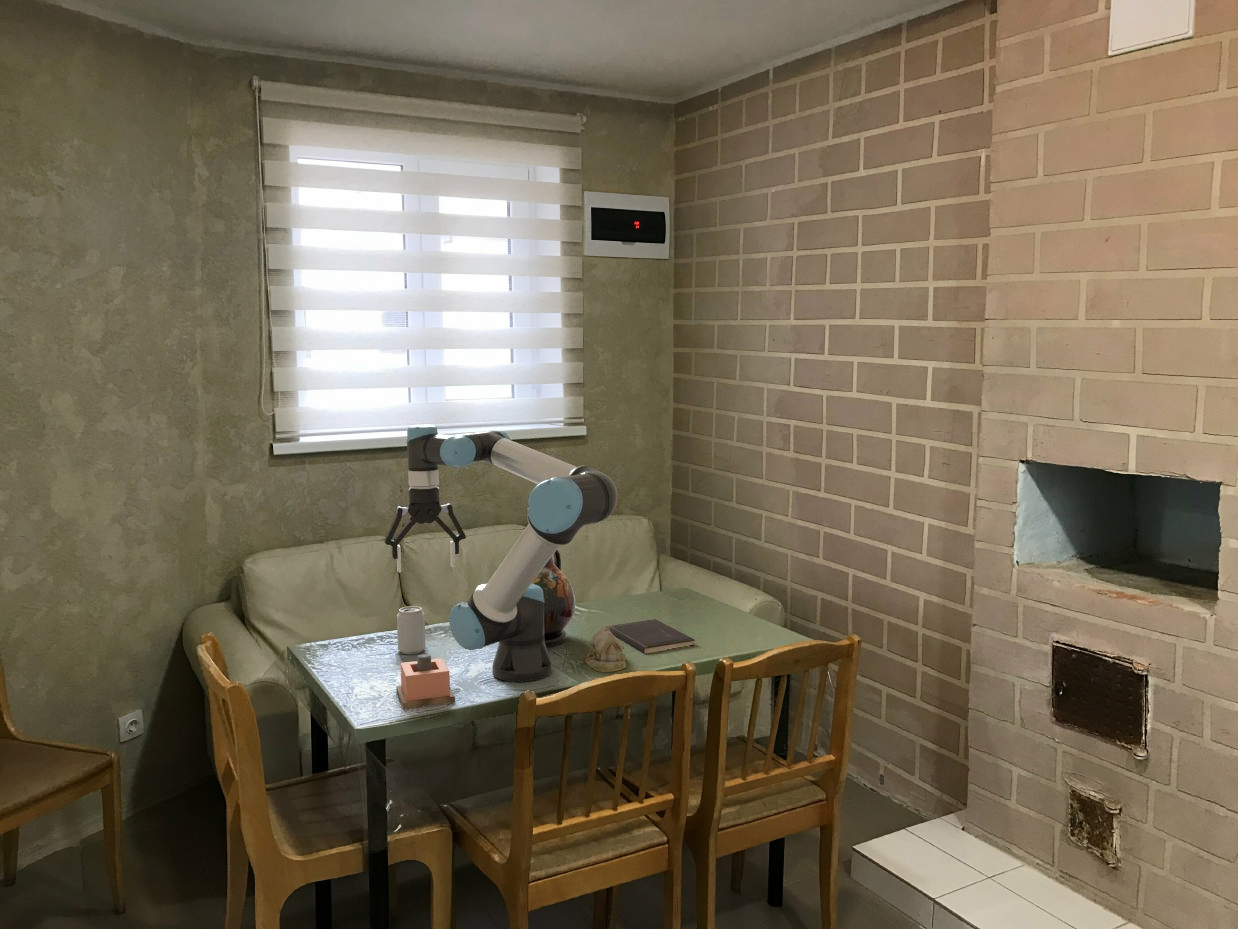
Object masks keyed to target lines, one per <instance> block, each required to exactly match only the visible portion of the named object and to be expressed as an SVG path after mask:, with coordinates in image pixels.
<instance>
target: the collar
mask: <svg viewBox="0 0 1238 929" xmlns="http://www.w3.org/2000/svg"><path fill="white" fill-rule="evenodd" d="M450 681H451V680H450V669H449V668H448V666H447V665H446V663H445V661H444V659H443V657H441V658H431V670H429V671H421V672H418V666H417V660H415V661H408V662H400V686H401V688H402V690H403V692H404V695H405V697H406V700H407V701H412V700H420V699H427V698H435V697H443V696H450V688H451V687H450V686H451V685H450V684H451V682H450Z"/></svg>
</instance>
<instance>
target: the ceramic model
mask: <svg viewBox="0 0 1238 929" xmlns="http://www.w3.org/2000/svg"><path fill="white" fill-rule="evenodd" d="M589 645H590V646H591V651H589V652H588V653H587V655H586V656H585V660H584V662H585V664H586V665H588V667H590V668H591V669H592V670H594V671H597V672H599V673H610V672H618V671H621V670H624V669H625V668H626V667H627V663H626V659H627V658H626V654H625V653H623V650H624V649H625V648H624V645H623V644H622V643H621V642H620V640H619V639H618V638H617V637H615V636H613V634H612V633H611V632H610V628H609V625H608V626H607V625H606V626H601V627H600V629H599V630H598V631H596V633H594V635H593V636H592V638H591V640H590V642H589Z"/></svg>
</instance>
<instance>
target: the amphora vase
mask: <svg viewBox="0 0 1238 929" xmlns="http://www.w3.org/2000/svg"><path fill="white" fill-rule="evenodd" d="M559 548H560V546H559V547H558V548H557V550H556V551H555V552H554V554H553V555H552V556H551V558H550V559H549V561H548V562H547V563H546V565H545V566H544V567H543V569H542V570H541V571H540V573H539V574H538V576H537V577H536V578H535V580H534V581H533V582H532V584H535V585H538V586H540V587H541V588H542V590H543V596H544V601H545V603H544V642H545V645H546V648H548V647H553V646H556V645H559V644H561V643H563V642H564V641H565V640H566V639H567V638H568V637H567V636H568V633H567V631H566V630H565V629H566V628H567V627H568V626H569V624H571V622H572V620H573V619H574V615H575V613H576V596H575V592H574V589H573V586H572V584H571V582H570V580H569V579H568V577H567V576H566V575H565V573H564V572H563V571H562V560H561V554H560V552H559V550H558V549H559Z"/></svg>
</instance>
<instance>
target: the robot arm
mask: <svg viewBox="0 0 1238 929" xmlns="http://www.w3.org/2000/svg"><path fill="white" fill-rule="evenodd" d="M406 434H407V435H406V436H407V437H406V451H407V452H406V453H407V472H408V474H407V475H408V476H407V477H408V485H409V488H408V506H407V507H405V506H404V507H401V506H400V505H398V506H397V507H396V509H395V510H396V511H395V516H394V518H393V520H392V522H391V525H390V526H389V529H388V531H387V533H386V536H385V538H384V539H383V542H384V543H385V545H387V546H391V556H392V559H393V560H396V570H397V573H402V551H401V550H402V548H401V546H400V543H401V541H402V540H403V539H404V538H405V536H407V534H408V533H409V532H410V530H412V528H413V527H414V526H415V524H419V525H423V524H425V523H426V524H433V523H434V522H435V523H436V524H438V525H439V527H441V529H442V530H443V531H444V532H445V533H446V534H447V535H448V536H449V537H450V538H451V539H452V540H450V541H449V546H450V547H449V548H450V549H449V552H450V555H449V556H450V559H449V560H450V567H451V568H452V569H453V568H454V569H456V555H459V553H460V541H462V540H465V539H466V538H467V535H466V533H465V531H464V529H463V528H462V526H461V525H460V523H459V521H458V518H457V517H456V515H455V513H454V510H453V505H452V504H451V503H450V502H448V503H446V504H443V505H441V503H440V487H439V486H438V485H439V484H440V481H439V480H440V476H439V466H447V467H452V468H465V467H468V466H469V465H470V464H478V463H488V464H489V465H492V466H495V467H498V468H500V469H503V470H505V471H507V472H509V473H512V474H513V475H515V476H518V477H520V478H523V479H525V480H527V481H529V482H531V483H534V484H536V486H535V487H534V488H533V489H532V491H531V492H530V494H529V497H528V499H527V500H528V501H527V505H528V507H527V510H526V511H527V522H528V524H527V526H526V527H525V529H524V530H523V532H522V533H521V534H520V535H519V537H518V538H517V540H516V541H515V543H514V544H513V545H512V547H511V549H510V550H509V551H508V553H507V554H506V556H505V557H504V558H503V560H502V561H501V563H500V564H499V565H498V567H497V569H496V570H495V572H494V573H493V574H492V575H491V577H490V578H489V580H488V581H487V583H482V584H480V585H478V586H477V587H476V588H475V589H474V590H473V592H472V593H471V595H470V596H469V597H468V599H467V600H466V601H464V602H463V601H462V602H458V603H457V604H455V605H454V606H452V608H451V610H450V612H449V617H448V621H449V622H448V623H449V626H450V627H449V629H450V632H451V634H452V636H453V639H454V641H456V643H457V644H458V645H459V646H460V647H461V648H462V649H464V650H468V651H475V650H480V649H483V648H485V647H489V646H490V645H493V644H496V643H498V645H497V648H496V651H495V655H494V659H493V661H492V665H491V666H492V667H491V668H492V669H491V671H492V675H494V676H493V677H495V678H496V677H497V678H496V679H498V678H499V680H501V679H502V680H501V681H505V680H507V681H506V682H512V681H519V682H520V683H521V681H524V682H523V683H525V682H533V681H537V680H541V679H543V678H547V677H548V676H550V675H551V674H552V672H553V670H552V668H553V666H552V660H551V657H550V655H549V651H548V647H546V645H545V642H544V603H545V601H544V596H543V590H542V588H541V587H540V586H538V585H535V584H532V582H533V581H534V580H535V578H536V577H537V576H538V574H539V573H540V571H541V570H542V569H543V567H544V566H545V565H546V563H547V562H548V561H549V559H550V558H551V556H552V557H553V556H554V555H553V554H554V552H555V551H556V550H558V549H559V548H560V546H566V545H569V544H570V543H571V542H572V541H573V539H574V538H575V536H576V535H577V534H578V533H579V531H580V530H581V529H582V528H583V527H586V526H589V525H594V524H597V523H598V524H599V523H601V522H602V521H603V522H604V521H605V520H606V519H608V518H609V517H610V516H611V515H612V514H613V513H614V511H615V509H616V506H617V504H618V497H619V496H618V490H617V487H616V485H615V483H614V481H613V480H612V479H611V478H610V476H608V475H607V474H606V473H603V472H601V471H599V470H597V469H594V468H593V467H590V466H587V465H579V466H575V465H573V464H570V463H569V462H566V461H563V460H561V459H558V458H556V457H554V456H551V455H549V454H546V453H543V452H541V451H538V450H536V449H534V448H530V447H528V446H526V445H523V444H521V443H519V442H516V441H513V440H512V439H511V438H510V436H509V435H508V434H507V432H505V431H502V430H494V429H493V430H492V429H491V430H487V431H479V432H471V433H459V434H458V433H457V434H439V432H438V427H437V426H435V425H433V424H414V425H410V426H409V427H408V428H407V432H406ZM442 511H443V512H444V513H445V514H447V516H448V517H449V520H450V521H451V523H452V525H453V527H454V529H455V530H456V532H457V534H455V533H454V532H453V531H452V529H450V527H449V526H447V524H446V523H445V522H444V521H443V520H442V519H441V518H440V517H439V515H440V514H441V512H442ZM407 513H408V514H409V515H410V517H409V518H408V520H407V522H406V523H405V524H404V526H403V527H402V528H401V529H400V530H399V532H398V533H397V534H396V531H397V529H398V527H399V525H400V523H401V520H402V518H403V517H404V516H405V515H406V514H407ZM395 534H396V536H395ZM394 536H395V537H394ZM393 537H394V538H393ZM558 547H559V548H558ZM557 548H558V549H557ZM519 682H518V683H519Z"/></svg>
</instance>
